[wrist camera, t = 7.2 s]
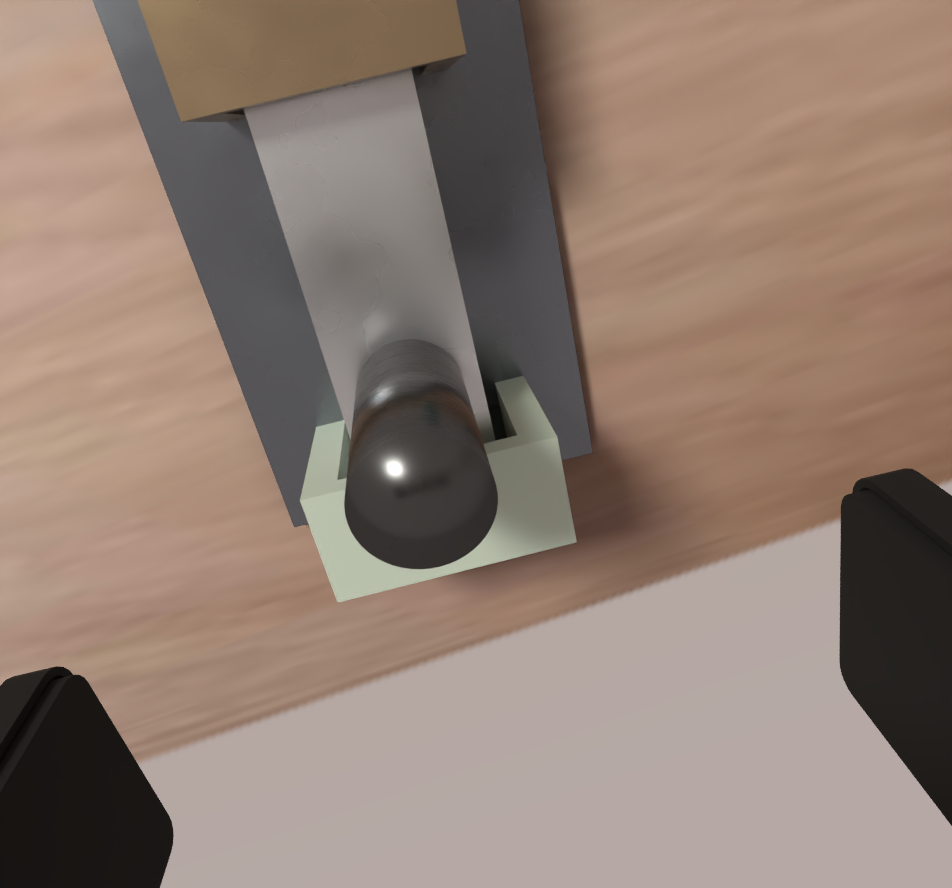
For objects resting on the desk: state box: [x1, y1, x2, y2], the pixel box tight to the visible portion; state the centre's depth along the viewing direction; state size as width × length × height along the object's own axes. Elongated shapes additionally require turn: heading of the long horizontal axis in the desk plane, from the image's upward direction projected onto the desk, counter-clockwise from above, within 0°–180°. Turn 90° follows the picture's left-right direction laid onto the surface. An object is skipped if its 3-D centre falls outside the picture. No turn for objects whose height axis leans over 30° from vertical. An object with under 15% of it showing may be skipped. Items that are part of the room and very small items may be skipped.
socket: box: [300, 376, 577, 602], centre depth 23 cm, size 7×4×5 cm, turn 102°
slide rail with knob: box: [93, 0, 593, 527], centre depth 19 cm, size 11×22×6 cm, turn 12°
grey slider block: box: [244, 69, 498, 569], centre depth 17 cm, size 4×14×10 cm, turn 12°
